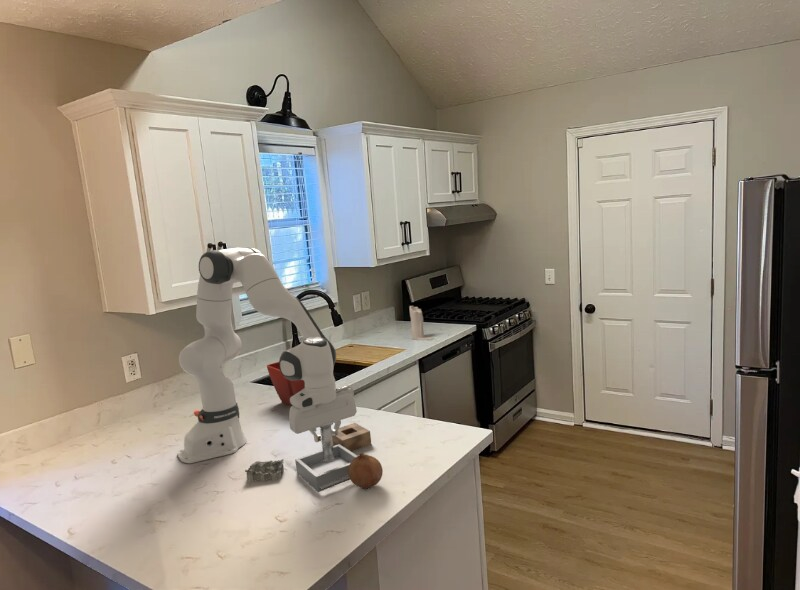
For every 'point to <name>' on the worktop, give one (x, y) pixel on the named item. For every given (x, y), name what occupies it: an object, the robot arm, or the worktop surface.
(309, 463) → the grey tray
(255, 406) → the worktop surface
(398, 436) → the worktop surface
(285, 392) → the plant pot
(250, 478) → the egg carton
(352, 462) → the onion
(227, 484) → the worktop surface
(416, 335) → the candle
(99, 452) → the worktop surface
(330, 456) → the steel pin
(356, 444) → the socket block
